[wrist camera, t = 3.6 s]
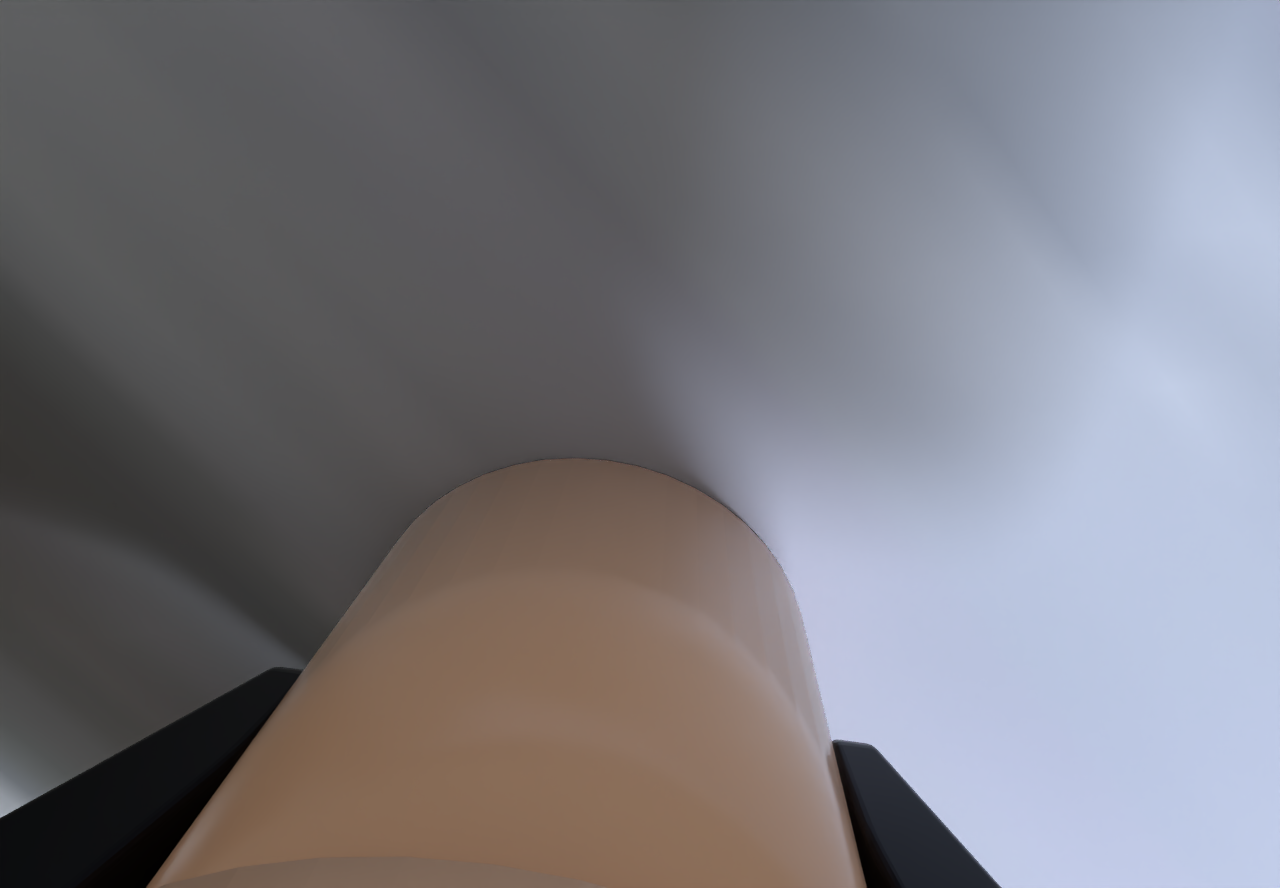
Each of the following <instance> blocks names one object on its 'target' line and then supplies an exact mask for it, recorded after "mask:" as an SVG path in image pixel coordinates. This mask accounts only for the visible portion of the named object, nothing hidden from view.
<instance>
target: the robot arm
mask: <svg viewBox="0 0 1280 888" xmlns="http://www.w3.org/2000/svg"><path fill="white" fill-rule="evenodd" d="M302 672H303V670H300V669H292V668H284V667H275V668H272V669H269V670H267V671H265V672H263V673H261V674H260V675H258V676H256V677H254V678H252V679H251V680H249V681H247V682H245V683H243V684H242V685H240V686H238V687H236V688H234V689H233V690H231V691H229V692H227V693H225V694H224V695H222V696H220V697H218V698H216V699H215V700H213V701H211V702H209V703H207V704H205V705H204V706H202V707H200V708H198V709H196V710H195V711H193V712H191V713H189V714H187V715H186V716H184V717H182V718H180V719H178V720H177V721H175V722H173V723H171V724H169V725H168V726H166V727H164V728H162V729H160V730H159V731H157V732H155V733H153V734H151V735H150V736H148V737H146V738H144V739H142V740H141V741H139V742H137V743H135V744H133V745H132V746H130V747H128V748H126V749H124V750H122V751H121V752H119V753H117V754H115V755H113V756H112V757H110V758H108V759H106V760H104V761H103V762H101V763H99V764H97V765H95V766H94V767H92V768H90V769H88V770H86V771H85V772H83V773H81V774H79V775H77V776H76V777H74V778H72V779H70V780H68V781H67V782H65V783H63V784H61V785H59V786H58V787H56V788H54V789H52V790H50V791H49V792H47V793H45V794H43V795H41V796H39V797H38V798H36V799H34V800H32V801H30V802H29V803H27V804H25V805H23V806H21V807H20V808H18V809H16V810H14V811H12V812H11V813H9V814H7V815H5V816H3V817H2V818H0V888H146V887H147V886H148V884H149V883H150V881H151V880H152V879H153V877H154V876H155V875H156V873H157V872H158V870H159V869H160V868H161V866H162V865H163V863H164V862H165V861H166V859H167V858H168V857H169V855H170V854H171V852H172V851H173V850H174V848H175V847H176V846H177V844H178V843H179V841H180V840H181V839H182V837H183V836H184V834H185V833H186V832H187V830H188V829H189V828H190V826H191V825H192V823H193V822H194V821H195V819H196V818H197V817H198V815H199V814H200V812H201V811H202V810H203V808H204V807H205V806H206V804H207V803H208V801H209V800H210V799H211V797H212V796H213V794H214V793H215V792H216V790H217V789H218V788H219V786H220V785H221V783H222V782H223V781H224V779H225V778H226V777H227V775H228V774H229V772H230V771H231V770H232V768H233V767H234V765H235V764H236V763H237V761H238V760H239V759H240V757H241V756H242V754H243V753H244V752H245V750H246V749H247V748H248V746H249V745H250V743H251V742H252V741H253V739H254V738H255V737H256V735H257V734H258V732H259V731H260V730H261V728H262V727H263V725H264V724H265V723H266V721H267V720H268V719H269V717H270V716H271V714H272V713H273V712H274V710H275V709H276V708H277V706H278V705H279V703H280V702H281V701H282V699H283V698H284V696H285V695H286V694H287V692H288V691H289V690H290V688H291V687H292V685H293V684H294V683H295V681H296V680H297V679H298V677H299V676H300V674H301V673H302ZM832 744H833V749H834V753H835V757H836V761H837V765H838V770H839V774H840V778H841V782H842V786H843V790H844V795H845V799H846V803H847V807H848V811H849V816H850V820H851V824H852V828H853V832H854V836H855V841H856V845H857V849H858V853H859V857H860V861H861V866H862V870H863V874H864V878H865V882H866V887H867V888H1001V887H1000V886H999V885H998V884H997V882H996V881H995V880H994V879H993V878H992V877H991V876H990V875H989V874H988V872H987V871H986V870H985V869H984V868H983V867H982V866H981V865H980V864H979V862H978V861H977V860H976V859H975V858H974V857H973V856H972V855H971V853H970V852H969V851H968V850H967V849H966V848H965V847H964V846H963V845H962V843H961V842H960V841H959V840H958V839H957V838H956V837H955V836H954V835H953V833H952V832H951V831H950V830H949V829H948V828H947V827H946V826H945V825H944V823H943V822H942V821H941V820H940V819H939V818H938V817H937V816H936V815H935V813H934V812H933V811H932V810H931V809H930V808H929V807H928V806H927V804H926V803H925V802H924V801H923V800H922V799H921V798H920V797H919V796H918V794H917V793H916V792H915V791H914V790H913V789H912V788H911V787H910V786H909V784H908V783H907V782H906V781H905V780H904V779H903V778H902V777H901V776H900V774H899V773H898V772H897V771H896V770H895V769H894V768H893V767H892V766H891V764H890V763H889V762H888V761H887V760H886V759H885V758H884V757H883V755H882V754H881V753H880V752H879V751H878V750H877V749H876V748H875V747H873V746H872V745H869V744H866V743H859V742H852V741H844V740H834V741H832Z"/></svg>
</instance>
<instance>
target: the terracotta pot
mask: <svg viewBox="0 0 1280 888" xmlns="http://www.w3.org/2000/svg"><path fill="white" fill-rule="evenodd" d="M146 888H867V887H866V882H865V878H864V874H863V870H862V866H861V861H860V857H859V853H858V849H857V845H856V841H855V836H854V832H853V828H852V824H851V820H850V816H849V811H848V807H847V803H846V799H845V795H844V790H843V786H842V782H841V778H840V774H839V770H838V765H837V761H836V757H835V753H834V749H833V744H832V740H831V736H830V732H829V728H828V724H827V719H826V715H825V711H824V707H823V703H822V698H821V694H820V690H819V686H818V682H817V678H816V673H815V669H814V665H813V661H812V657H811V652H810V648H809V644H808V640H807V636H806V632H805V627H804V623H803V619H802V615H801V612H800V609H799V606H798V603H797V600H796V597H795V594H794V591H793V589H792V587H791V585H790V583H789V581H788V579H787V577H786V575H785V573H784V571H783V569H782V567H781V566H780V565H779V563H778V562H777V560H776V559H775V557H774V556H773V555H772V553H771V552H770V550H769V549H768V548H767V546H766V545H765V544H764V543H763V542H762V540H761V539H760V538H759V537H758V536H757V535H756V534H755V533H754V532H753V531H752V530H751V529H750V528H749V527H748V526H747V525H746V523H744V522H743V521H742V520H741V519H739V518H738V517H737V516H736V515H734V514H733V513H732V512H731V511H730V510H728V509H727V508H726V507H725V506H723V505H722V504H720V503H719V502H717V501H716V500H714V499H712V498H711V497H709V496H707V495H706V494H704V493H703V492H701V491H699V490H698V489H696V488H694V487H692V486H689V485H687V484H685V483H683V482H681V481H679V480H676V479H674V478H672V477H670V476H668V475H664V474H661V473H658V472H655V471H652V470H649V469H646V468H642V467H639V466H635V465H630V464H624V463H619V462H614V461H609V460H598V459H583V458H565V459H547V460H539V461H533V462H528V463H522V464H517V465H512V466H509V467H506V468H503V469H499V470H496V471H493V472H490V473H487V474H484V475H482V476H480V477H478V478H475V479H473V480H471V481H469V482H467V483H465V484H463V485H461V486H458V487H457V488H455V489H454V490H452V491H451V492H449V493H448V494H446V495H445V496H443V497H442V498H440V499H439V500H437V501H436V502H434V503H433V504H432V505H431V506H430V507H429V508H427V509H426V510H425V511H424V512H423V513H422V514H421V515H420V516H418V517H417V518H416V519H415V520H414V521H413V522H412V524H411V525H410V526H409V527H408V528H407V530H406V531H405V532H404V533H403V534H402V536H401V537H400V538H399V539H398V541H397V542H396V543H395V545H394V546H393V547H392V549H391V550H390V552H389V553H388V554H387V556H386V557H385V558H384V560H383V561H382V563H381V564H380V565H379V567H378V568H377V570H376V571H375V572H374V574H373V575H372V576H371V578H370V579H369V581H368V582H367V583H366V585H365V586H364V587H363V589H362V590H361V592H360V593H359V594H358V596H357V597H356V599H355V600H354V601H353V603H352V604H351V605H350V607H349V608H348V610H347V611H346V612H345V614H344V615H343V616H342V618H341V619H340V621H339V622H338V623H337V625H336V626H335V627H334V629H333V630H332V632H331V633H330V634H329V636H328V637H327V639H326V640H325V641H324V643H323V644H322V645H321V647H320V648H319V650H318V651H317V652H316V654H315V655H314V656H313V658H312V659H311V661H310V662H309V663H308V665H307V666H306V668H305V669H304V670H303V672H302V673H301V674H300V676H299V677H298V679H297V680H296V681H295V683H294V684H293V685H292V687H291V688H290V690H289V691H288V692H287V694H286V695H285V696H284V698H283V699H282V701H281V702H280V703H279V705H278V706H277V708H276V709H275V710H274V712H273V713H272V714H271V716H270V717H269V719H268V720H267V721H266V723H265V724H264V725H263V727H262V728H261V730H260V731H259V732H258V734H257V735H256V737H255V738H254V739H253V741H252V742H251V743H250V745H249V746H248V748H247V749H246V750H245V752H244V753H243V754H242V756H241V757H240V759H239V760H238V761H237V763H236V764H235V765H234V767H233V768H232V770H231V771H230V772H229V774H228V775H227V777H226V778H225V779H224V781H223V782H222V783H221V785H220V786H219V788H218V789H217V790H216V792H215V793H214V794H213V796H212V797H211V799H210V800H209V801H208V803H207V804H206V806H205V807H204V808H203V810H202V811H201V812H200V814H199V815H198V817H197V818H196V819H195V821H194V822H193V823H192V825H191V826H190V828H189V829H188V830H187V832H186V833H185V834H184V836H183V837H182V839H181V840H180V841H179V843H178V844H177V846H176V847H175V848H174V850H173V851H172V852H171V854H170V855H169V857H168V858H167V859H166V861H165V862H164V863H163V865H162V866H161V868H160V869H159V870H158V872H157V873H156V875H155V876H154V877H153V879H152V880H151V881H150V883H149V884H148V886H147V887H146Z"/></svg>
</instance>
